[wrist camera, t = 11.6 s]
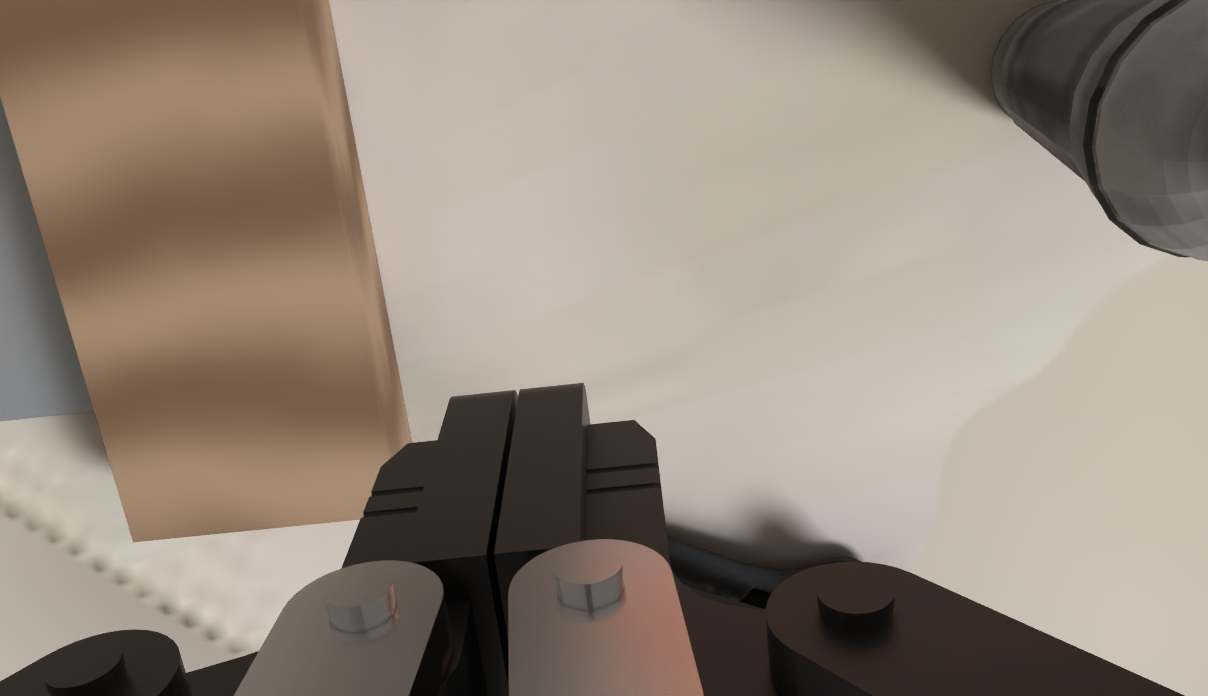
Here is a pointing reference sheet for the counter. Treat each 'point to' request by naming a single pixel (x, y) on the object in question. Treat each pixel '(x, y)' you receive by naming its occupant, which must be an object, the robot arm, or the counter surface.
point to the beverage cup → (1119, 107)
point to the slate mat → (31, 309)
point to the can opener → (728, 576)
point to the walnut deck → (209, 253)
